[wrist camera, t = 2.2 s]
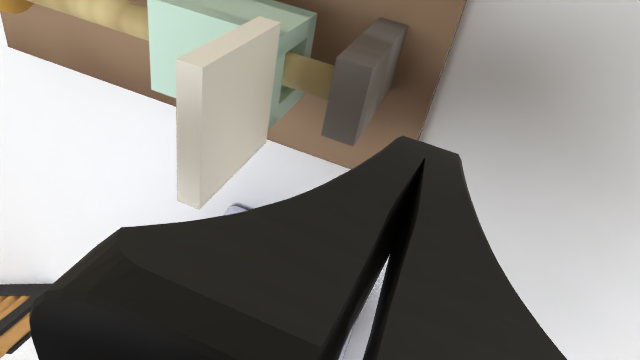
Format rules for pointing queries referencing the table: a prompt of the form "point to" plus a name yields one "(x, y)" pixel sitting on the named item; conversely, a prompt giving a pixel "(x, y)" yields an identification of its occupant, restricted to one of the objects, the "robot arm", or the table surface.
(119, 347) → the robot arm
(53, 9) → the brown plate
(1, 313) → the ammunition clip
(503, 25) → the table surface
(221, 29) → the green sliding block
